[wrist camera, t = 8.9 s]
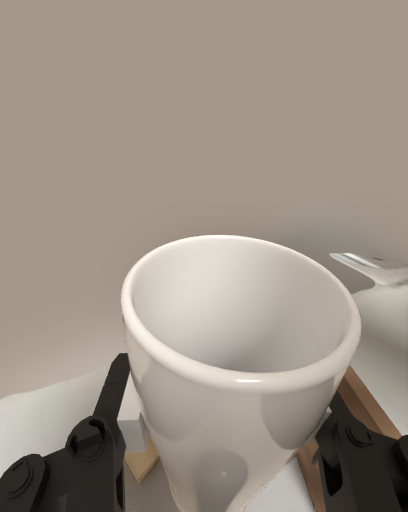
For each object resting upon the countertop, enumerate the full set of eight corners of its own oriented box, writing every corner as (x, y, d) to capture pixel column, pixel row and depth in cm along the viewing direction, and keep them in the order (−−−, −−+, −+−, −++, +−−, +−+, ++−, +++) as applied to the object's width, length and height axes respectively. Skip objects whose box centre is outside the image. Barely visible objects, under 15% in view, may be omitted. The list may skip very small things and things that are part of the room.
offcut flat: (139, 485, 22) (137, 479, 21) (120, 453, 25) (118, 446, 24) (190, 421, 28) (191, 414, 27) (171, 400, 30) (171, 392, 29)
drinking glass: (284, 476, 13) (399, 288, 6) (202, 613, 9) (256, 539, 2) (213, 389, 18) (230, 223, 10) (138, 456, 14) (84, 262, 7)
